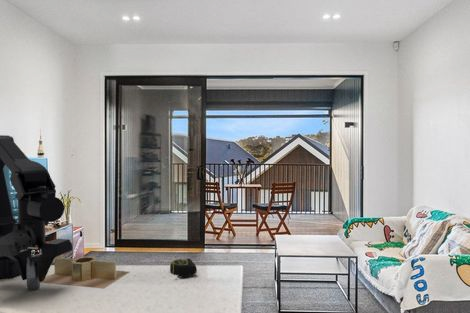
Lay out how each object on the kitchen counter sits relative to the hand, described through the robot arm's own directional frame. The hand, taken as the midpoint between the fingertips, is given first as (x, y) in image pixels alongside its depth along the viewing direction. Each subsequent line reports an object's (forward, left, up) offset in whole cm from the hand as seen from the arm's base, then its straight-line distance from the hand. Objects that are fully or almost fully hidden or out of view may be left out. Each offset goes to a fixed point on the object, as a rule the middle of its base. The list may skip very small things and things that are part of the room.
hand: (33, 280), depth 88 cm
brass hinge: (+7, +10, -2) cm, 12 cm away
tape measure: (+32, +20, -3) cm, 38 cm away
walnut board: (+7, +10, -3) cm, 13 cm away
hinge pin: (0, 0, -3) cm, 3 cm away
